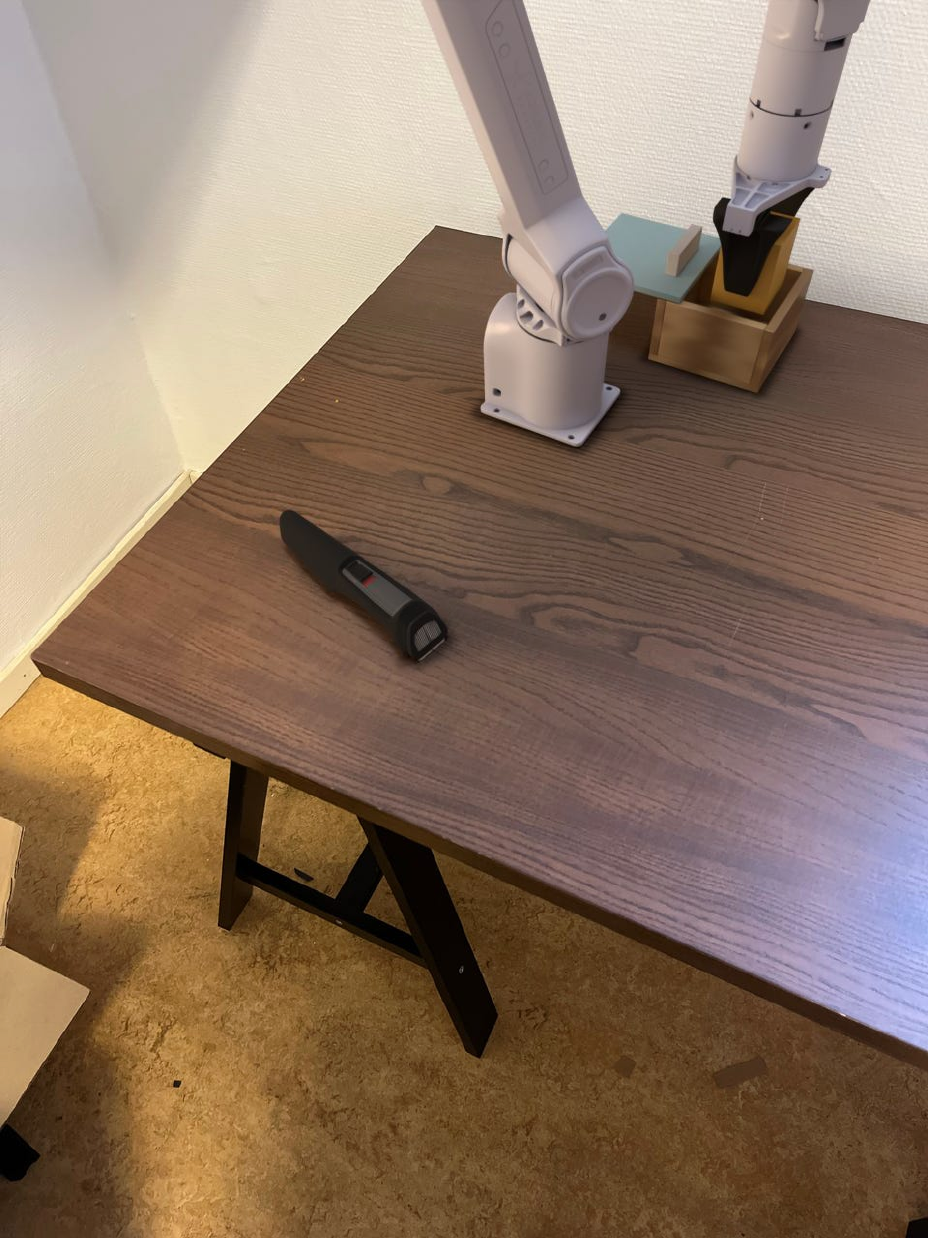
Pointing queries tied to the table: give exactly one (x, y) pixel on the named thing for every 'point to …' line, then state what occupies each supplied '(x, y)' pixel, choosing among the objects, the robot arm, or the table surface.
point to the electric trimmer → (365, 586)
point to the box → (727, 331)
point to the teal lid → (662, 254)
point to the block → (768, 278)
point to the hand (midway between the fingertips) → (748, 276)
